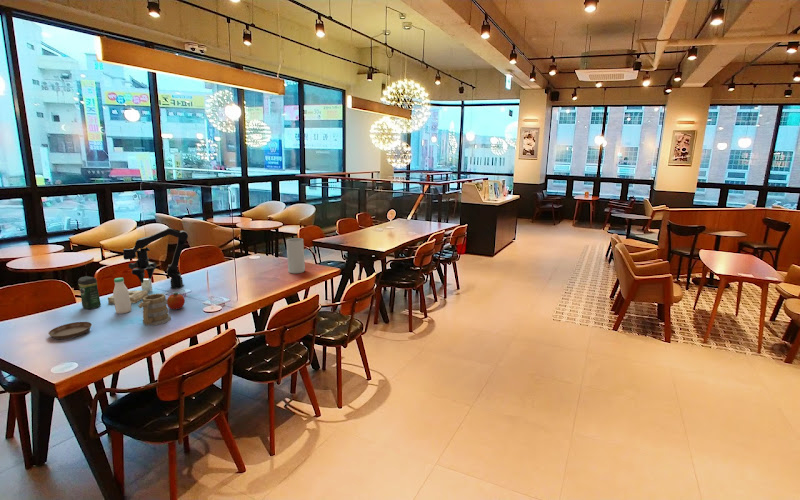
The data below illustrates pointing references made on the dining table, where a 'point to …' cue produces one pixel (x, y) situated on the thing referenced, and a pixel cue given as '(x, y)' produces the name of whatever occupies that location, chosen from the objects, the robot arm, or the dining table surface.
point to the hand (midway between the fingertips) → (146, 280)
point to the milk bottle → (121, 297)
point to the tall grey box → (147, 285)
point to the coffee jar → (89, 292)
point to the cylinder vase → (295, 255)
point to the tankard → (155, 309)
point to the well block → (132, 296)
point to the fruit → (175, 301)
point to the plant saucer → (70, 330)
